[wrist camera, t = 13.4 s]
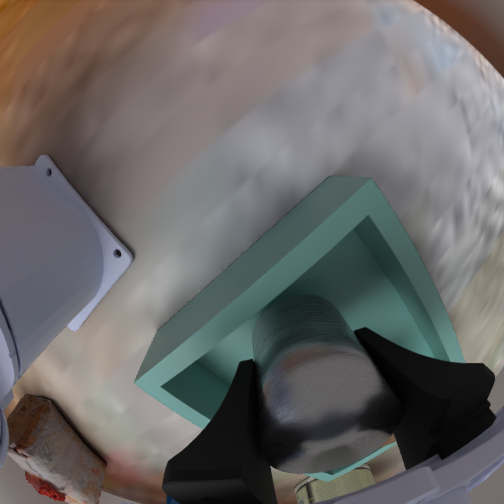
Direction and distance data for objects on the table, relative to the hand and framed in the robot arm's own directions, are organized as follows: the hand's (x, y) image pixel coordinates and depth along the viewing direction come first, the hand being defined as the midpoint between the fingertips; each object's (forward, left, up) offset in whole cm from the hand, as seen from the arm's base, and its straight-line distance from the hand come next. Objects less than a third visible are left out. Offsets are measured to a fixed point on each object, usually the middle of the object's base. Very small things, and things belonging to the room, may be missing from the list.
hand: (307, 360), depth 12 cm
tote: (+4, 0, -4) cm, 6 cm away
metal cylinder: (0, 0, -2) cm, 2 cm away
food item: (-3, -30, -5) cm, 30 cm away
